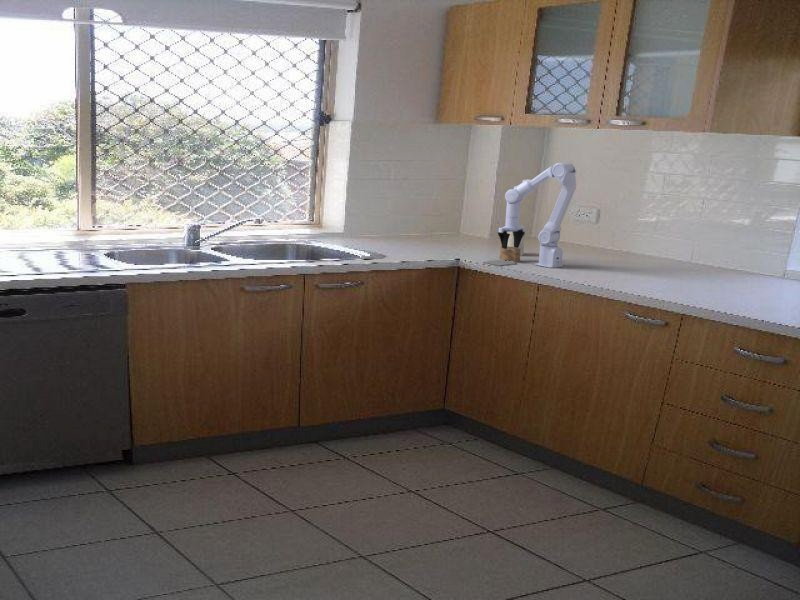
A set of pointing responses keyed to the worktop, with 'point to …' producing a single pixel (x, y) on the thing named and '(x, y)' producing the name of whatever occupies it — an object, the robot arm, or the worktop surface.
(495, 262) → the mat
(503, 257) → the slab
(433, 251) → the worktop surface
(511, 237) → the cup
